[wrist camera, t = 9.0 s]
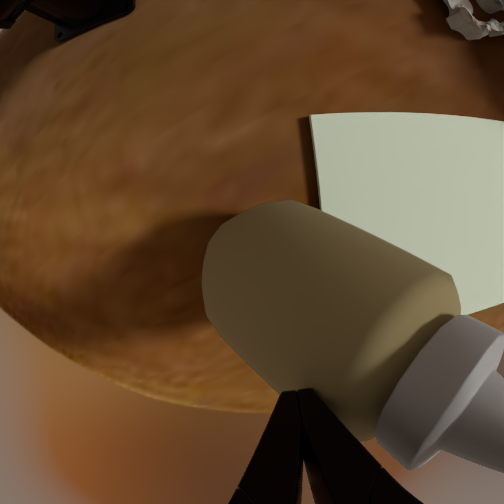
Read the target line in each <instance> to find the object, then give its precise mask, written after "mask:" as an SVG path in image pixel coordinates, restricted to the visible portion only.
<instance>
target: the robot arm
mask: <svg viewBox="0 0 504 504" xmlns="http://www.w3.org/2000/svg"><path fill="white" fill-rule="evenodd" d="M128 5H130V6H129V8H127V9H125V8H126V7H127V6H128ZM134 9H135V0H0V29H10V28H11V27H12V25H13V24H14V23H15V22H16V21H15V20H16V19H17V18H18V17H19V16H20V15H21V14H22V12H23V11H24V10H27V11H29V12H31V13H33V14H35V15H38V16H40V17H42V18H44V19H46V20H48V21H50V22H52V23H54V24H55V40H56V41H57V42H63V41H65V40H67V39H69V38H71V37H73V36H75V35H77V34H79V33H81V32H84V31H86V30H88V29H90V28H93V27H95V26H97V25H100V24H102V23H104V22H107V21H109V20H112V19H115V18H117V17H120V16H123V15H125V14H128V13H130V12H132V11H133V10H134ZM61 35H62V36H61ZM60 36H61V37H60ZM303 460H304V464H305V468H306V472H307V476H308V480H309V484H310V487H311V491H312V494H313V498H314V503H315V504H423V503H422V502H421V501H419V500H418V499H417V498H415V497H414V496H413V495H412V494H411V493H409V492H408V491H407V490H406V489H404V488H403V487H402V486H401V485H400V484H399V483H398V482H397V481H396V480H395V479H394V478H393V477H392V476H391V475H390V474H389V473H388V472H387V471H386V470H385V469H384V468H381V467H382V466H381V465H380V463H378V461H377V460H376V459H375V458H374V457H373V456H372V455H371V454H370V453H369V452H368V451H367V450H366V448H365V447H363V445H362V444H361V443H360V442H359V441H358V440H357V439H356V437H355V436H354V435H353V434H352V433H351V432H350V431H349V430H348V429H347V427H346V426H345V425H344V424H343V423H342V422H341V421H340V420H339V418H338V417H337V416H336V415H335V414H334V413H333V412H332V411H331V409H330V408H329V407H328V406H327V405H326V404H325V403H324V401H323V400H322V399H321V398H320V397H319V396H318V395H317V393H316V392H315V391H314V390H313V389H312V388H304V389H298V390H297V391H296V390H289V391H283V392H281V394H280V396H279V398H278V401H277V403H276V405H275V408H274V410H273V412H272V414H271V417H270V419H269V421H268V424H267V426H266V428H265V430H264V432H263V435H262V437H261V439H260V441H259V444H258V446H257V448H256V450H255V452H254V454H253V456H252V458H251V460H250V462H249V464H248V467H247V468H246V470H245V472H244V475H243V477H242V478H241V480H240V482H239V484H238V489H236V490H235V492H234V494H233V496H232V498H231V499H230V501H229V503H228V504H301V501H302V482H303Z"/></svg>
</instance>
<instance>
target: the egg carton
mask: <svg viewBox="0 0 504 504" xmlns="http://www.w3.org/2000/svg"><path fill="white" fill-rule="evenodd" d="M443 1H444V2H445V3H446V5H447V6H448V8H449V17H447V18H446V20H447V22H448V24H449V26H450V28H451V29H452V30H456V31H458V32H460V33H461V34H462V35H463V36H464V37H465V38H466V39H467V40H473V39H480V38H482V37H484V36H486V35H489V37H493V36H499V35H504V22H501V23H499V22H498V21H497V20H494V19H493V18H492V19H491V20H490V21H488V22H482V21H478V20H476V19H475V18H474V17H473V16H472V14H473V7H472V5H471V3H470V1H469V0H443ZM476 1H477V3H478V5H479V6H480V7H481V9H483V10H484V11H485V12H486V13H488V14H492V13H495V12H497V11H500V10H502V11H504V0H476Z"/></svg>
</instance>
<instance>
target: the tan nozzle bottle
mask: <svg viewBox="0 0 504 504" xmlns="http://www.w3.org/2000/svg"><path fill="white" fill-rule="evenodd" d="M201 285H202V292H203V299H204V306H205V313H206V316H207V317H208V319H209V320H210V322H211V323H212V324H213V326H214V327H215V329H216V330H217V331H218V333H219V334H220V336H221V337H222V338H223V339H224V340H225V341H226V342H227V343H228V344H229V345H230V346H231V347H232V348H233V349H234V350H235V351H236V352H237V354H238V355H239V356H240V357H241V358H242V359H243V360H244V361H245V362H246V363H247V364H248V365H249V366H250V367H251V368H252V369H254V370H255V371H256V372H257V373H258V374H259V375H260V376H261V377H262V378H263V379H264V380H265V381H266V382H267V383H268V384H269V385H270V386H271V387H272V388H273V389H274V390H275V391H276V392H277V393H278V394H281V392H283V391H289V390H296V391H297V390H298V389H304V388H312V389H313V390H314V391H315V392H316V393H317V395H318V396H319V397H320V398H321V399H322V400H323V401H324V403H325V404H326V405H327V406H328V407H329V408H330V409H331V411H332V412H333V413H334V414H335V415H336V416H337V417H338V418H339V420H340V421H341V422H342V423H343V424H344V425H345V426H346V427H347V429H348V430H349V431H350V432H351V433H352V434H353V435H354V436H355V437H356V439H357V440H358V441H359V442H362V441H367V440H370V439H372V438H374V437H376V440H377V443H378V444H379V445H380V446H381V447H382V448H383V449H385V450H386V451H387V452H388V453H389V454H390V455H391V456H392V457H393V458H395V459H396V460H397V461H398V462H399V463H400V464H401V465H403V466H404V467H405V468H406V469H407V470H414V469H417V468H420V467H421V466H422V465H424V464H425V463H426V462H428V461H429V460H430V459H431V458H433V457H434V456H435V455H436V454H437V453H438V452H439V451H440V450H441V449H442V450H444V451H447V452H449V453H452V454H454V455H456V456H459V457H461V458H464V459H466V460H469V461H472V462H474V463H477V464H479V465H482V466H485V467H488V468H490V469H493V470H496V471H499V472H502V473H504V379H503V378H502V377H501V376H500V374H499V373H498V372H497V371H496V369H497V367H498V364H499V362H500V359H501V356H502V353H503V350H504V333H503V332H501V331H499V330H497V329H495V328H493V327H491V326H489V325H487V324H485V323H483V322H481V321H479V320H477V319H475V318H473V317H471V316H469V315H461V304H460V300H459V295H458V291H457V289H456V286H455V283H454V281H453V278H452V275H450V274H449V273H447V272H445V271H443V270H441V269H439V268H438V267H436V266H434V265H432V264H430V263H428V262H426V261H424V260H422V259H421V258H419V257H417V256H415V255H413V254H411V253H409V252H407V251H405V250H403V249H401V248H399V247H397V246H395V245H393V244H391V243H389V242H387V241H385V240H383V239H381V238H379V237H377V236H375V235H373V234H371V233H369V232H366V231H364V230H362V229H360V228H358V227H356V226H354V225H352V224H350V223H347V222H345V221H343V220H341V219H339V218H336V217H334V216H332V215H330V214H328V213H325V212H323V211H321V210H319V209H316V208H314V207H311V206H308V205H305V204H303V203H300V202H297V201H294V200H285V201H277V202H270V203H262V204H260V205H257V206H255V207H253V208H251V209H248V210H246V211H244V212H242V213H240V214H238V215H236V216H234V217H233V218H231V219H230V220H228V221H226V222H225V223H223V224H222V225H221V226H220V227H219V228H218V230H217V231H216V232H215V234H214V235H213V236H212V238H211V239H210V240H209V242H208V246H207V249H206V253H205V257H204V260H203V270H202V283H201Z"/></svg>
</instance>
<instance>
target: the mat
mask: <svg viewBox="0 0 504 504" xmlns="http://www.w3.org/2000/svg"><path fill="white" fill-rule="evenodd" d="M309 121H310V128H311V135H312V143H313V151H314V159H315V167H316V176H317V185H318V195H319V205H320V210H321V211H323V212H325V213H328V214H330V215H332V216H334V217H336V218H339V219H341V220H343V221H345V222H347V223H350V224H352V225H354V226H356V227H358V228H360V229H362V230H364V231H366V232H369V233H371V234H373V235H375V236H377V237H379V238H381V239H383V240H385V241H387V242H389V243H391V244H393V245H395V246H397V247H399V248H401V249H403V250H405V251H407V252H409V253H411V254H413V255H415V256H417V257H419V258H421V259H422V260H424V261H426V262H428V263H430V264H432V265H434V266H436V267H438V268H439V269H441V270H443V271H445V272H447V273H449V274H450V275H452V278H453V281H454V283H455V286H456V289H457V291H458V295H459V300H460V304H461V315H468V314H471V313H474V312H477V311H480V310H483V309H486V308H489V307H492V306H495V305H498V304H501V303H504V122H503V121H496V120H489V119H482V118H474V117H465V116H454V115H442V114H427V113H400V112H362V113H335V114H318V115H310V116H309Z"/></svg>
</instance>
